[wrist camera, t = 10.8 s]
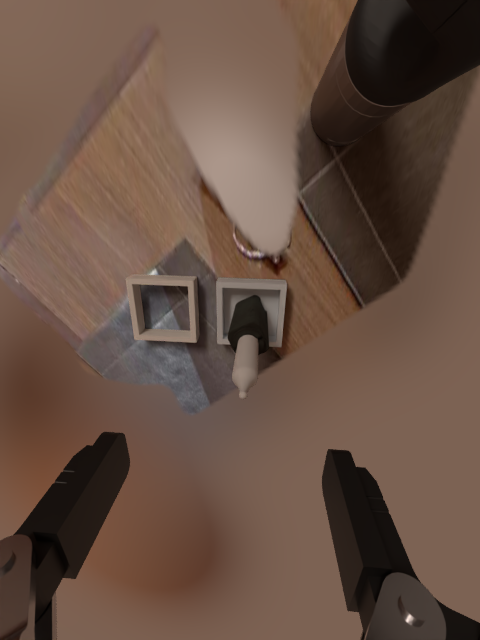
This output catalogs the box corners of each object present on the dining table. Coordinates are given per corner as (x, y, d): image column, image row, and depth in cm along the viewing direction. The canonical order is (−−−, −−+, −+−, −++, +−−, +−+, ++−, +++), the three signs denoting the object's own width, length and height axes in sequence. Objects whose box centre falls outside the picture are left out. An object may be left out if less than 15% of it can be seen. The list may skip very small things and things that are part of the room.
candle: (269, 316, 51) (276, 408, 28) (245, 326, 52) (232, 423, 29) (257, 292, 49) (254, 369, 26) (233, 304, 50) (209, 387, 27)
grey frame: (133, 274, 50) (125, 278, 47) (197, 276, 49) (193, 280, 46) (141, 332, 55) (134, 339, 52) (199, 335, 54) (196, 342, 51)
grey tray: (218, 277, 49) (216, 281, 46) (285, 279, 48) (287, 284, 45) (219, 336, 54) (217, 343, 51) (280, 339, 53) (281, 347, 50)
